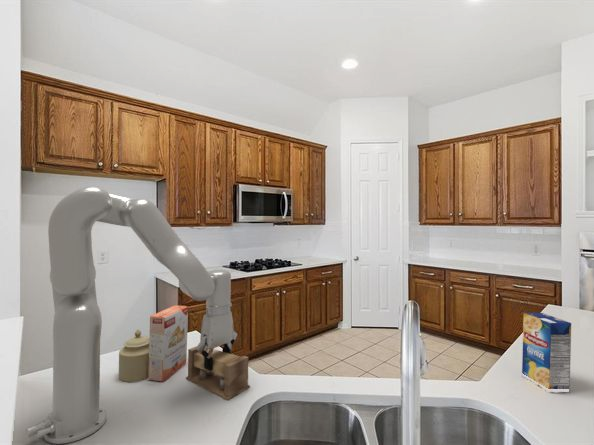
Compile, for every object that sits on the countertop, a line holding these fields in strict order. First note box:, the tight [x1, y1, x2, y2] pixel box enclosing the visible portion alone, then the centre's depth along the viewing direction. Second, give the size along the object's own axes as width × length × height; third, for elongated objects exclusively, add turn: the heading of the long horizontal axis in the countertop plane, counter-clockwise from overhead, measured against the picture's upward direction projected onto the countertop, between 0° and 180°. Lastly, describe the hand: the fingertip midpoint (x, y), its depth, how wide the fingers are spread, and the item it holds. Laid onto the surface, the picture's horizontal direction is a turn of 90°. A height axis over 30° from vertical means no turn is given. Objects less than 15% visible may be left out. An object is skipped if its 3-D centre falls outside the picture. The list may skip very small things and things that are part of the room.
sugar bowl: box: [118, 329, 149, 383], centre depth 106 cm, size 15×11×15 cm
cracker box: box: [147, 304, 189, 383], centre depth 107 cm, size 14×6×21 cm, turn 168°
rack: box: [185, 345, 250, 401], centre depth 100 cm, size 9×20×10 cm, turn 54°
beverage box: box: [521, 312, 572, 390], centre depth 103 cm, size 7×11×22 cm, turn 3°
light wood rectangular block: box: [194, 348, 241, 376], centre depth 100 cm, size 14×6×4 cm, turn 62°
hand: (217, 364), depth 100 cm, fingers closed on light wood rectangular block, 6 cm apart
